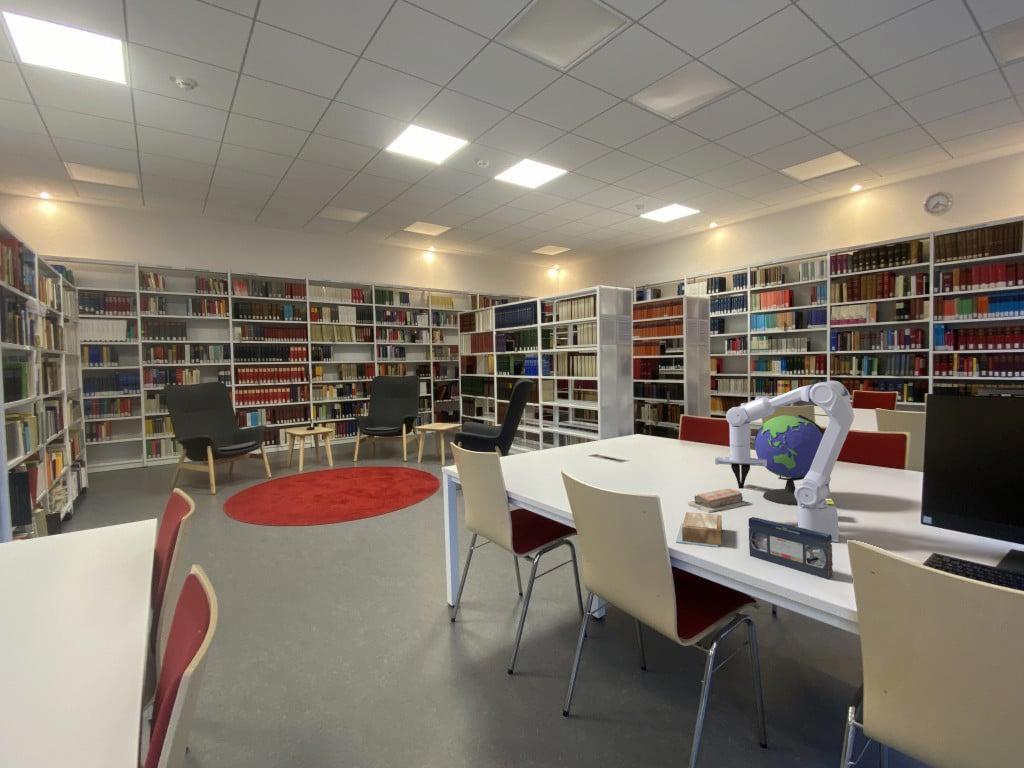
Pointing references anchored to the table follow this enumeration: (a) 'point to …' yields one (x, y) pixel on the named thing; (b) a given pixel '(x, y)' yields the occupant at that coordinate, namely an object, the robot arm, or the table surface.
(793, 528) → the vhs cassette tape
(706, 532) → the tan wooden block
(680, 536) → the mat
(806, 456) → the globe
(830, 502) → the rubik's cube
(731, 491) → the packaged product
